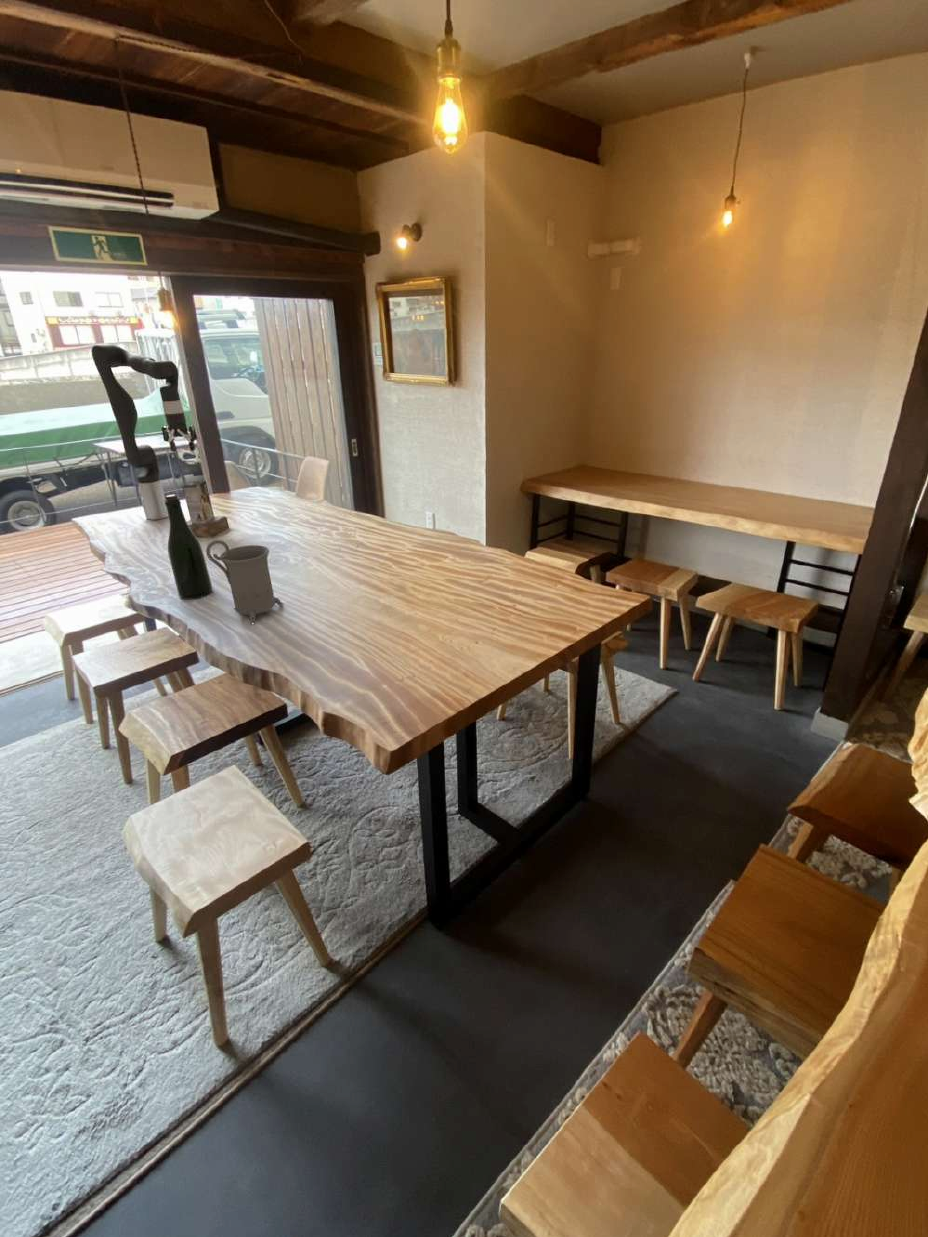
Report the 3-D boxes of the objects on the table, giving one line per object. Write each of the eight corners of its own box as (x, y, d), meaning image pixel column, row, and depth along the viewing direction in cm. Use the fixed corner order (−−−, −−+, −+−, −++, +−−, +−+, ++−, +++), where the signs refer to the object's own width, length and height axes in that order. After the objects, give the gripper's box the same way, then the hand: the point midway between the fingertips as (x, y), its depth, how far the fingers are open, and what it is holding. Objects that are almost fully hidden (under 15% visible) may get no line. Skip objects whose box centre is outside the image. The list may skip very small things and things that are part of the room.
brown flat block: (182, 537, 252) (179, 525, 250) (199, 527, 264) (196, 515, 262) (213, 537, 250) (210, 525, 248) (229, 527, 262) (226, 515, 260)
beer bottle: (202, 584, 203) (178, 489, 188) (219, 591, 197) (195, 493, 182) (173, 595, 196) (145, 496, 181) (189, 602, 189) (162, 501, 175)
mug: (273, 597, 190) (258, 522, 179) (293, 612, 180) (278, 533, 169) (215, 615, 180) (195, 536, 169) (232, 631, 170) (212, 549, 159)
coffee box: (200, 517, 259) (191, 481, 252) (214, 517, 259) (206, 480, 252) (191, 523, 251) (181, 486, 244) (205, 523, 251) (196, 485, 243)
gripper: (194, 410, 253) (203, 449, 260) (163, 411, 255) (173, 449, 262) (184, 412, 246) (194, 452, 254) (153, 413, 248) (163, 452, 255)
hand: (183, 450), depth 258 cm, fingers open, 8 cm apart
